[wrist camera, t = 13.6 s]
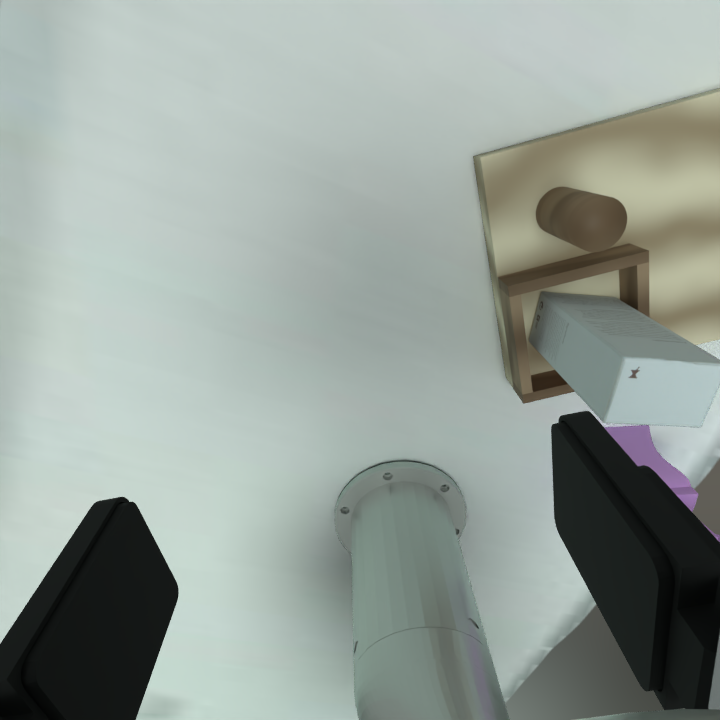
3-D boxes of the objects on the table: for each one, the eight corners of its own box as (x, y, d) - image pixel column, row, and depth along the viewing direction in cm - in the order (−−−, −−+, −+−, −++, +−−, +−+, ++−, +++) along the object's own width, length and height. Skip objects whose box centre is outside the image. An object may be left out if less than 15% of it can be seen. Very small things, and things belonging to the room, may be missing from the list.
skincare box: (526, 342, 38) (599, 424, 27) (539, 289, 36) (623, 355, 25) (601, 347, 38) (703, 430, 28) (618, 295, 37) (733, 362, 26)
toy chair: (556, 505, 48) (641, 652, 34) (568, 429, 44) (668, 560, 30) (640, 500, 48) (758, 645, 34) (659, 424, 44) (800, 552, 31)
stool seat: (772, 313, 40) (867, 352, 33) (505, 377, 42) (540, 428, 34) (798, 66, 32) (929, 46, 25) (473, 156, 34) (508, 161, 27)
